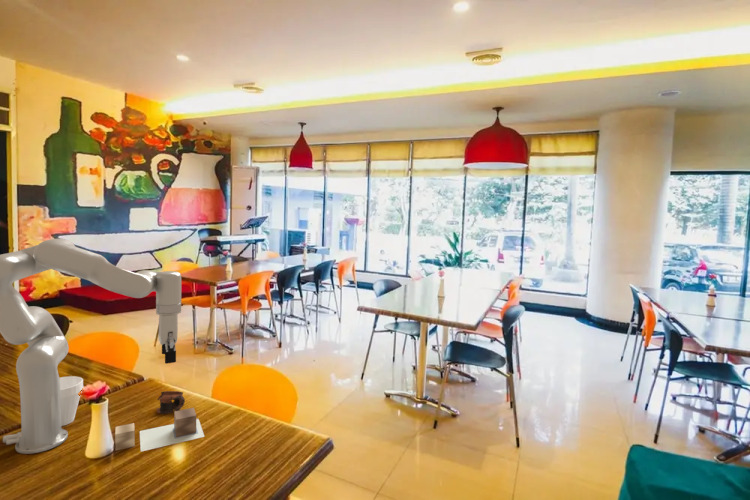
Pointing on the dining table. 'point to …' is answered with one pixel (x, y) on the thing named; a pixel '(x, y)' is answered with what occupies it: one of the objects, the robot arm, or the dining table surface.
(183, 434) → the walnut cube
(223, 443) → the dining table surface
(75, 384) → the cup
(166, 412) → the pottery mug
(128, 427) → the maple block
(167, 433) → the white rectangular board
